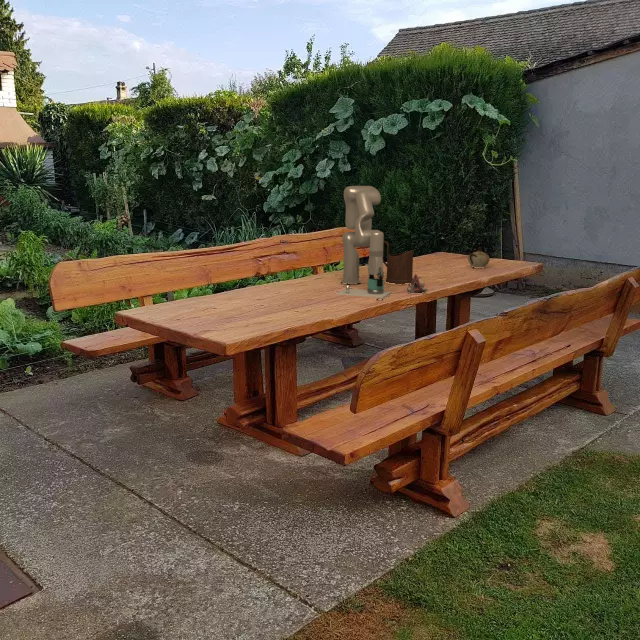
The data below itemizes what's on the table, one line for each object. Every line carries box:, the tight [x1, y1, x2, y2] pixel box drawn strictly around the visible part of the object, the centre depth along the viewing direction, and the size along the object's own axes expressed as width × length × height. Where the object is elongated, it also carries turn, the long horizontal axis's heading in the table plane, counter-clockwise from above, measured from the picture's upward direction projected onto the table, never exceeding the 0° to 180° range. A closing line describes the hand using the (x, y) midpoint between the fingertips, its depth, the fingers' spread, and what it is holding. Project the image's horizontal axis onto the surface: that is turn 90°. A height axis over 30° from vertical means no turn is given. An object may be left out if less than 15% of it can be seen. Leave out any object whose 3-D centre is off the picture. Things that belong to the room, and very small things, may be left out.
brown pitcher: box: [383, 240, 414, 284], centre depth 417 cm, size 18×24×25 cm
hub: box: [366, 288, 385, 294], centre depth 375 cm, size 9×9×6 cm
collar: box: [367, 277, 385, 291], centre depth 375 cm, size 6×6×6 cm
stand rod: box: [345, 284, 350, 294], centre depth 374 cm, size 2×2×4 cm
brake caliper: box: [406, 273, 428, 294], centre depth 383 cm, size 11×11×12 cm
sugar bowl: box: [467, 246, 491, 268], centre depth 478 cm, size 20×15×15 cm
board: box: [335, 288, 393, 300], centre depth 375 cm, size 19×27×2 cm
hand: (375, 284), depth 375 cm, fingers open, 9 cm apart
